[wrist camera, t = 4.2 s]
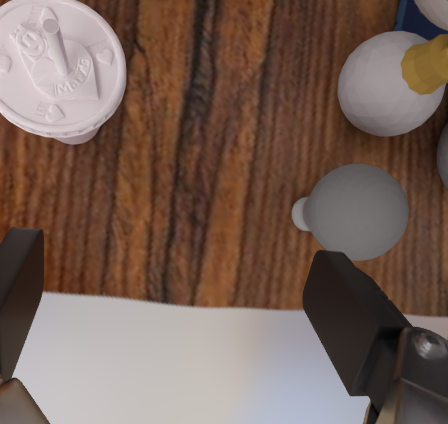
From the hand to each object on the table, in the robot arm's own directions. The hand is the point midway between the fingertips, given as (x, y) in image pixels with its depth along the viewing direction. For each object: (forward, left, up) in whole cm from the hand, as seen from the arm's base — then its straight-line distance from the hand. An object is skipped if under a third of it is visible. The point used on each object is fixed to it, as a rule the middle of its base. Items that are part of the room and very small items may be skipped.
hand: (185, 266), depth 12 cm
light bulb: (-11, +7, -17) cm, 21 cm away
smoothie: (-2, -9, -17) cm, 20 cm away
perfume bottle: (-21, +2, -17) cm, 27 cm away
